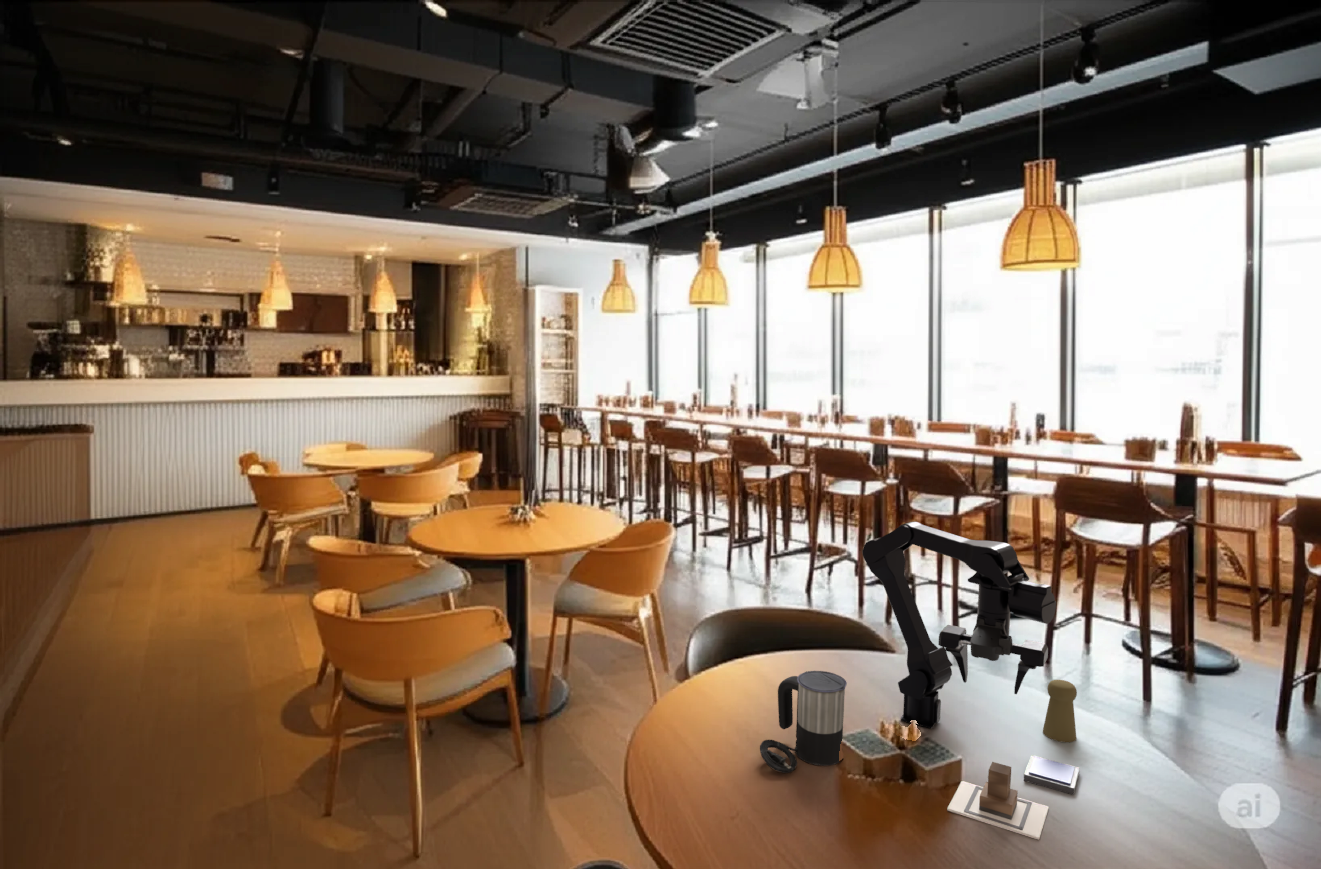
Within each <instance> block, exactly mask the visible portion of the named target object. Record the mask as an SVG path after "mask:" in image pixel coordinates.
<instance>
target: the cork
mask: <svg viewBox="0 0 1321 869" xmlns="http://www.w3.org/2000/svg"><path fill="white" fill-rule="evenodd" d="M1046 689H1047V693H1048V695H1049V700H1048V704H1047V705H1048V706H1047V710H1046V715H1045V719H1044V723H1043V728H1042V735H1044V736H1045V737H1046V738H1048V739H1051V740H1052V739H1053V741H1055V742H1060V743H1072V742H1075V741H1077V730H1076V729H1077V728H1076V719H1075V718H1076V716H1075V707H1074V701H1075V700H1076V697H1077V696H1078V691H1077V687H1076V686H1075V684H1073V683H1071V682H1070V681H1067V680H1065V679H1064V680H1063V679H1053V680H1051V681H1050V682H1048V684H1047V688H1046Z"/></svg>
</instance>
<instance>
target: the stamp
mask: <svg viewBox="0 0 1321 869" xmlns="http://www.w3.org/2000/svg"><path fill="white" fill-rule="evenodd" d="M987 778H988V779H987V781H985V783H984V785H983V786H982V787H983V790H982V792H981V794H980V802H979V810H981V811H984V812H987V813H990V814H993V815H997V816H1000V817H1003V818H1006V819H1009V820H1012V817H1013V814H1014V812H1015V809H1016V806H1017V797H1018V793H1019V792H1018V791H1019V790H1016V789H1013V788H1011V783H1012V782H1011V780H1012V766H1009V765H1005V764H1002V763H1000V762H999V763H998V762H995V761H992V762H991V764H990V766H989V768H988V775H987Z"/></svg>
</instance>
